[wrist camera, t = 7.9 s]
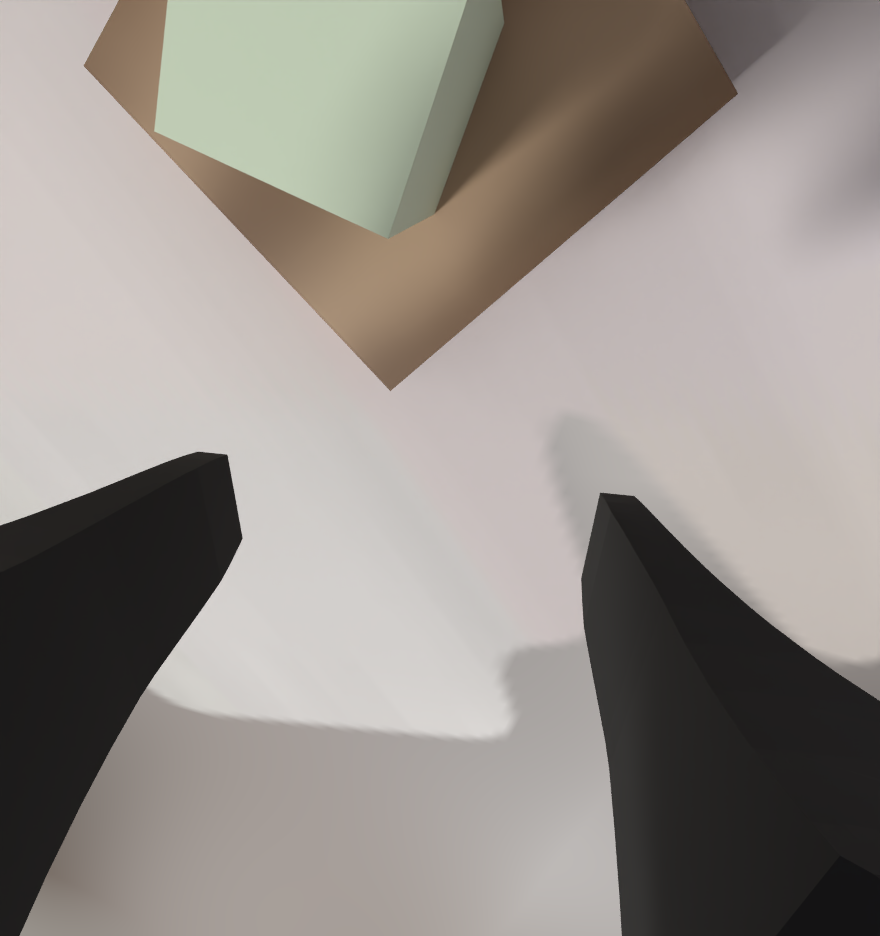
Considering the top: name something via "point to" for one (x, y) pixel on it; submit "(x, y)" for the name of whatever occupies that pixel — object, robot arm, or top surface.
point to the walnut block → (464, 166)
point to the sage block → (330, 95)
